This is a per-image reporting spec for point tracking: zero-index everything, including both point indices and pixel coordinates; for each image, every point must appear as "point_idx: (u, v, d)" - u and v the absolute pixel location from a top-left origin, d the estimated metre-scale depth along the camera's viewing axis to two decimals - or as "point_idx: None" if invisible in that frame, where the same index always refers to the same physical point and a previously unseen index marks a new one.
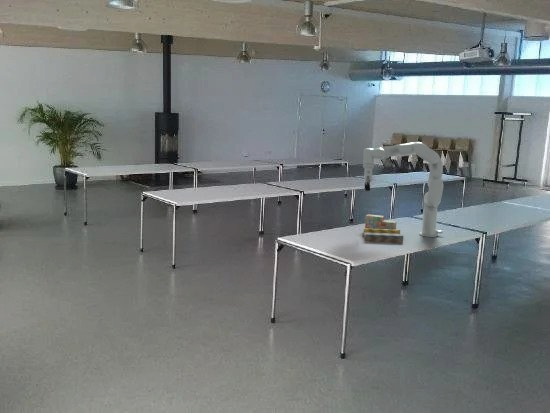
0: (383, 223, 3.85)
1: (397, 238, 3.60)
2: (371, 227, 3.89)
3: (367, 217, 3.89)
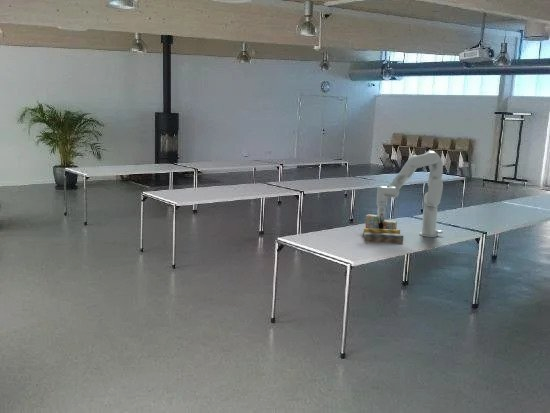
0: (384, 223, 3.84)
1: (397, 238, 3.60)
2: (371, 227, 3.89)
3: (367, 217, 3.89)
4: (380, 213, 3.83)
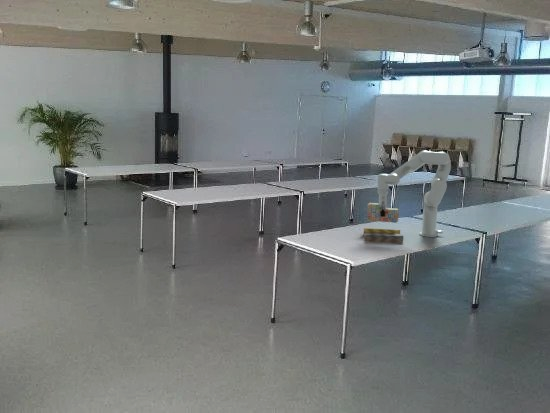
0: (386, 210, 3.83)
1: (397, 238, 3.60)
2: (373, 215, 3.87)
3: (369, 205, 3.87)
4: (381, 201, 3.81)
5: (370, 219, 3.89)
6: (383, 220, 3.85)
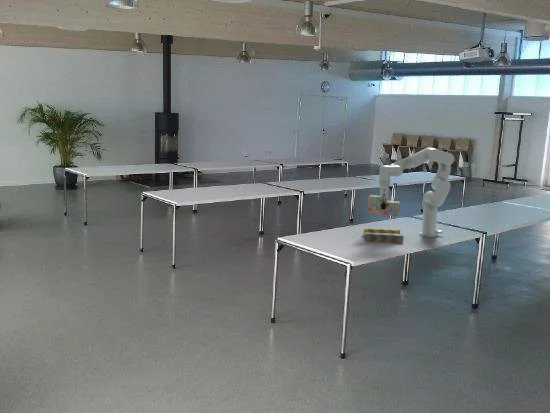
0: (387, 203, 3.72)
1: (397, 238, 3.60)
2: (374, 208, 3.76)
3: (370, 198, 3.77)
4: (383, 193, 3.70)
5: (370, 212, 3.78)
6: (384, 213, 3.74)
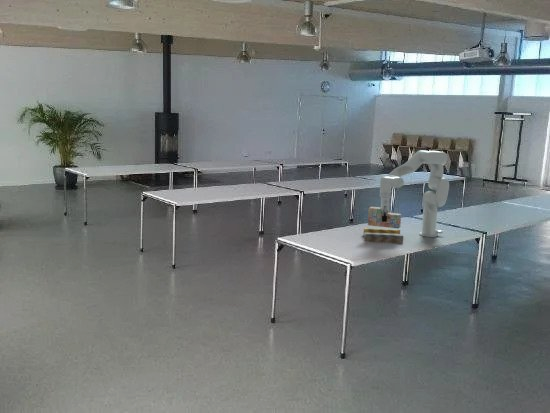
0: (388, 215, 3.63)
1: (397, 238, 3.60)
2: (374, 220, 3.67)
3: (370, 209, 3.68)
4: (384, 205, 3.61)
5: (371, 224, 3.69)
6: (384, 225, 3.65)
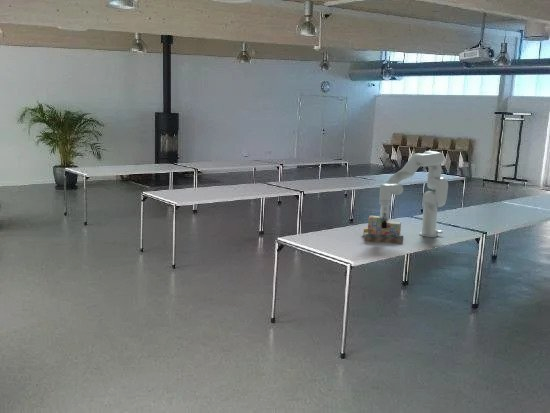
0: (388, 224, 3.65)
1: (397, 238, 3.60)
2: (374, 229, 3.68)
3: (370, 218, 3.69)
4: (383, 212, 3.62)
5: (371, 233, 3.70)
6: (384, 234, 3.66)
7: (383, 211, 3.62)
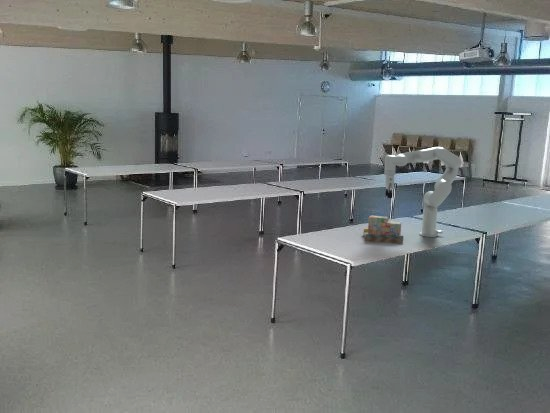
0: (388, 224, 3.65)
1: (397, 238, 3.60)
2: (375, 229, 3.69)
3: (370, 218, 3.69)
4: (389, 183, 3.75)
5: (371, 233, 3.70)
6: (385, 234, 3.67)
7: (389, 181, 3.74)
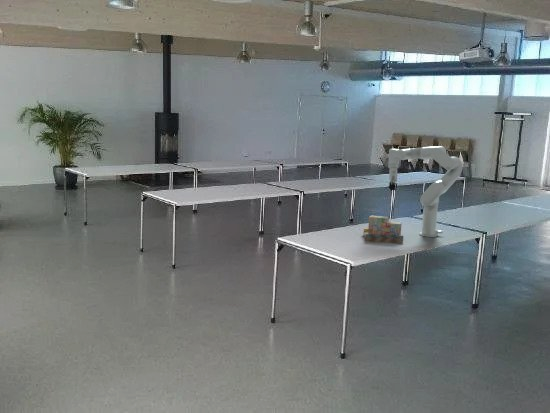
0: (388, 224, 3.65)
1: (397, 238, 3.60)
2: (375, 229, 3.69)
3: (370, 218, 3.69)
4: (392, 175, 3.90)
5: (371, 232, 3.71)
6: (385, 234, 3.67)
7: (392, 174, 3.90)
